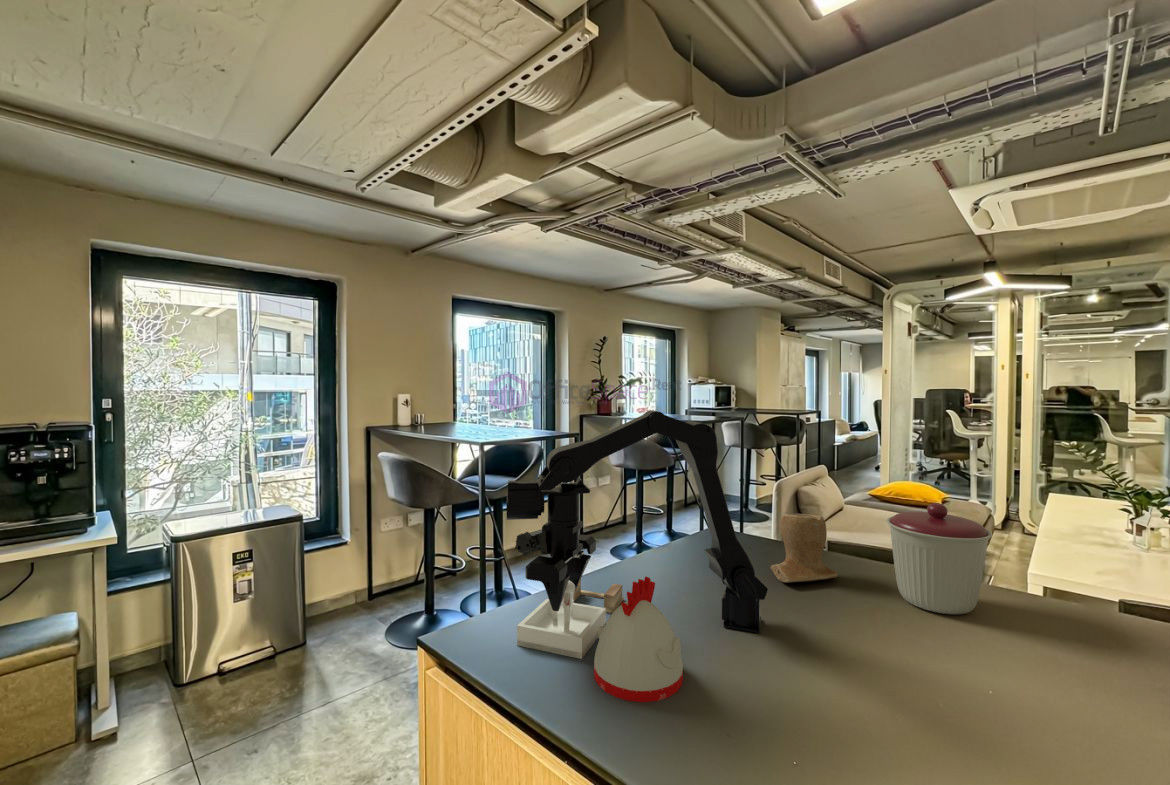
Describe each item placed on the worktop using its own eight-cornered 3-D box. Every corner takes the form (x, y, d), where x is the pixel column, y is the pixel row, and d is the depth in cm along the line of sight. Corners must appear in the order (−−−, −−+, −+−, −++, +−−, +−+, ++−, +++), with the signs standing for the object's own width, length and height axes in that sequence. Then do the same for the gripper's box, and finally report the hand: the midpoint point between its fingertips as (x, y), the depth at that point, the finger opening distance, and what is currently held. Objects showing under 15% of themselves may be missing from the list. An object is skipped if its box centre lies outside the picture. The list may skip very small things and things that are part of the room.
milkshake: (543, 636, 90) (543, 580, 90) (556, 624, 95) (556, 570, 95) (566, 641, 89) (566, 583, 89) (578, 628, 94) (579, 574, 94)
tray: (605, 626, 96) (605, 608, 96) (581, 659, 85) (582, 638, 85) (547, 615, 101) (547, 598, 101) (517, 645, 90) (517, 625, 89)
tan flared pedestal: (810, 565, 130) (811, 506, 129) (845, 583, 118) (846, 518, 118) (757, 570, 126) (758, 510, 126) (788, 589, 114) (788, 522, 114)
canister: (866, 592, 113) (867, 497, 113) (929, 583, 118) (930, 492, 118) (943, 629, 96) (945, 517, 95) (1014, 617, 101) (1016, 511, 100)
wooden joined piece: (623, 599, 109) (623, 583, 109) (613, 613, 102) (613, 595, 102) (574, 591, 113) (574, 575, 113) (561, 604, 106) (561, 587, 106)
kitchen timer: (698, 672, 81) (699, 578, 81) (651, 715, 71) (652, 607, 71) (627, 643, 90) (627, 559, 90) (576, 677, 80) (576, 582, 80)
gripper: (545, 502, 104) (545, 578, 105) (497, 526, 87) (497, 617, 87) (596, 507, 100) (596, 586, 101) (557, 533, 83) (557, 629, 83)
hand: (563, 603), depth 93 cm, fingers open, 6 cm apart
